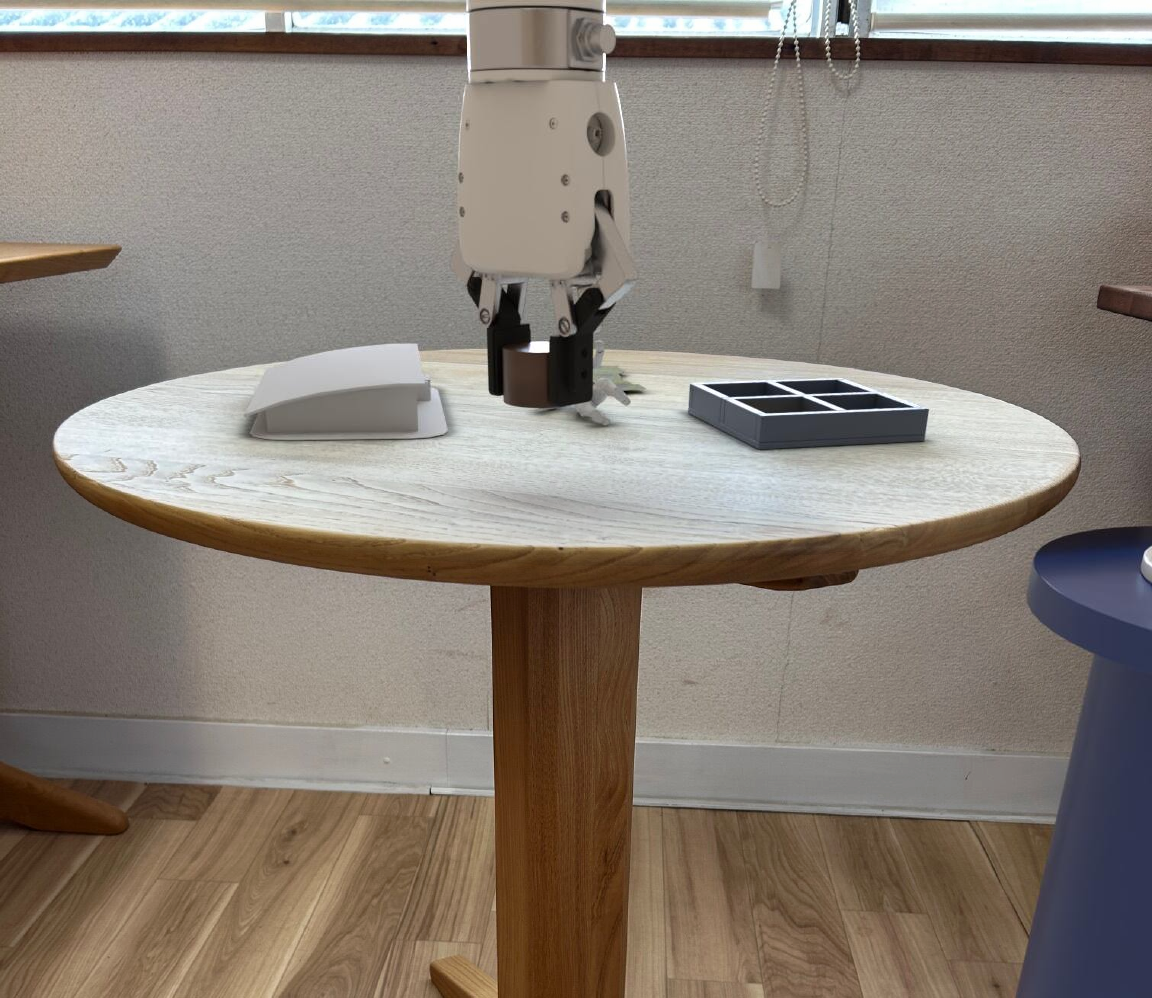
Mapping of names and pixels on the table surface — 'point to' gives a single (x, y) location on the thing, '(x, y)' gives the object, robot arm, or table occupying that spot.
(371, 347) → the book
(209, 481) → the table surface
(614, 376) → the map
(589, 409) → the soldier figure
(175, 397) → the table surface
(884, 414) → the grid
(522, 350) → the cylinder
